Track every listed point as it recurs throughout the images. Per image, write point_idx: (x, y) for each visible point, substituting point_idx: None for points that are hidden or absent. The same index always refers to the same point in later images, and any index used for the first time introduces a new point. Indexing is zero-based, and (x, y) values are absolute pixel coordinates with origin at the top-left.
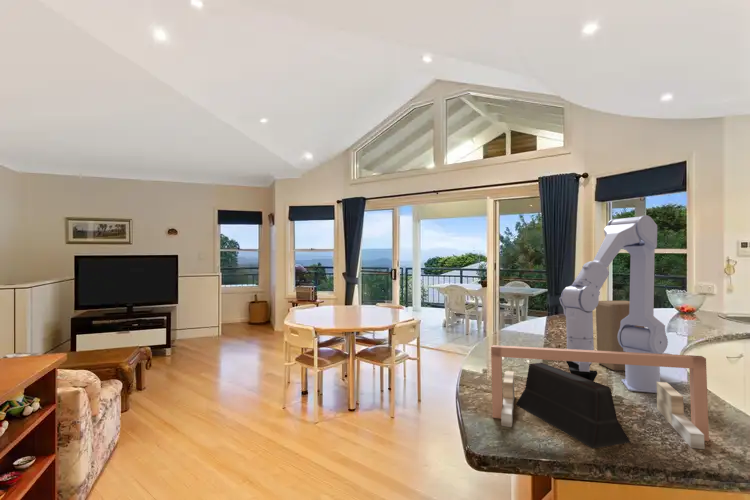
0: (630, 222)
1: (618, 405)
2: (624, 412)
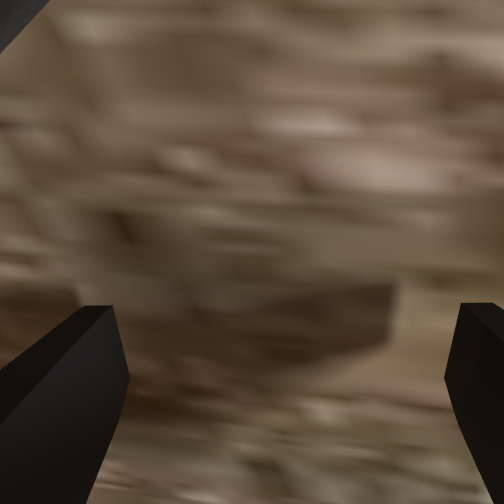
0: None
1: (260, 489)
2: (126, 493)
